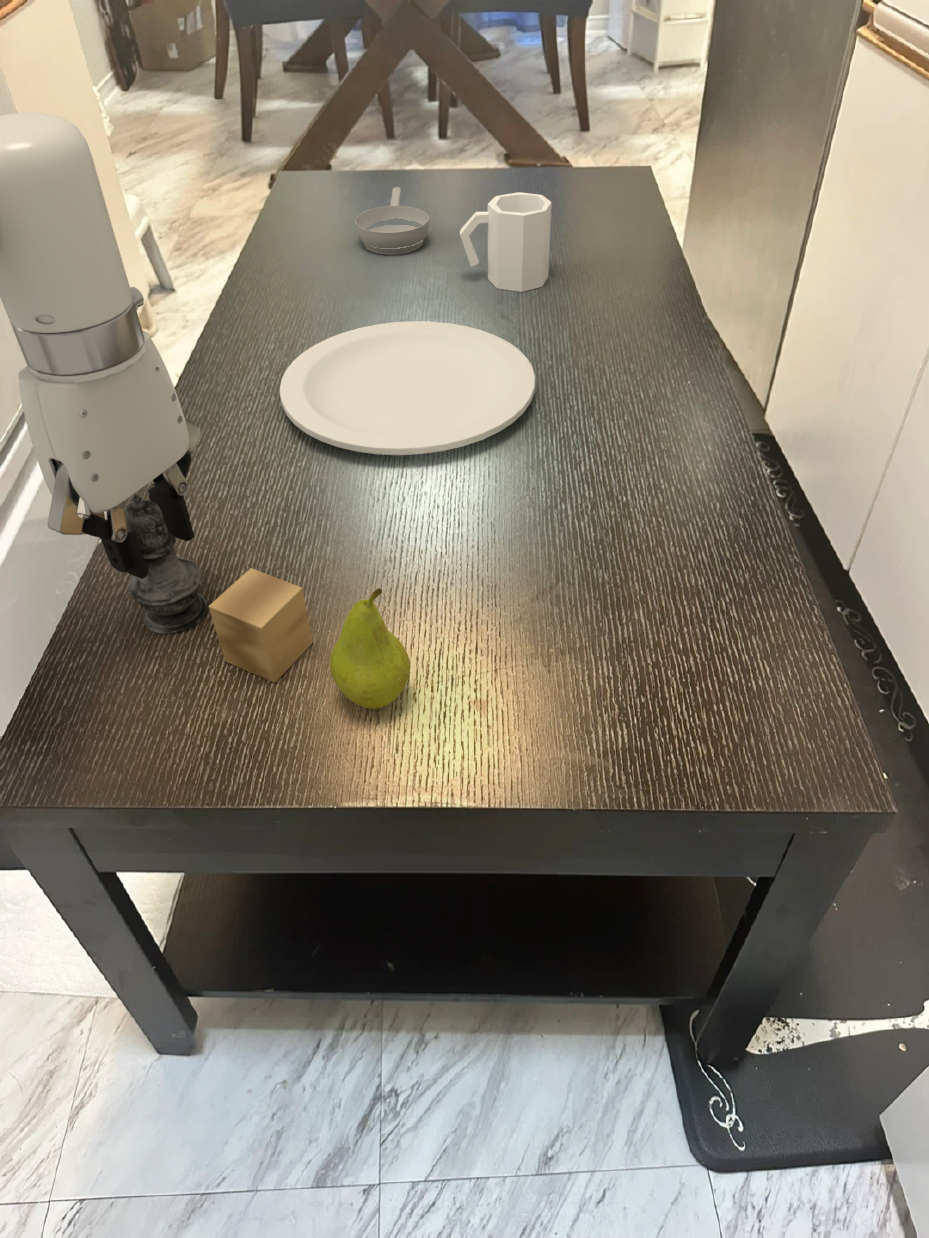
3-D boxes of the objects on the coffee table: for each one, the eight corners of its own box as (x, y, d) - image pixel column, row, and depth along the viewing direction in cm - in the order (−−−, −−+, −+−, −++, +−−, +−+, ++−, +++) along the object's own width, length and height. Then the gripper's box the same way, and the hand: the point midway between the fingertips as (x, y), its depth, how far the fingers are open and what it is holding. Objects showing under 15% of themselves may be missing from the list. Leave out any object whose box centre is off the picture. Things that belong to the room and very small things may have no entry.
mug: (545, 265, 124) (548, 191, 118) (551, 291, 118) (554, 215, 111) (460, 267, 124) (458, 194, 118) (461, 293, 118) (459, 217, 111)
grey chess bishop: (170, 647, 71) (127, 529, 63) (124, 617, 74) (78, 500, 66) (225, 606, 75) (192, 489, 66) (180, 579, 77) (142, 463, 69)
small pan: (354, 258, 128) (351, 231, 125) (364, 213, 141) (362, 187, 138) (429, 257, 127) (427, 229, 125) (432, 212, 140) (431, 186, 138)
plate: (417, 318, 113) (416, 300, 112) (586, 395, 99) (588, 376, 97) (233, 399, 99) (228, 380, 98) (397, 503, 85) (395, 482, 83)
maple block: (224, 661, 70) (208, 606, 66) (264, 622, 73) (250, 567, 69) (274, 683, 68) (260, 628, 64) (313, 642, 71) (302, 587, 67)
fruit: (343, 666, 69) (323, 547, 61) (417, 671, 69) (407, 551, 61) (328, 723, 65) (304, 604, 57) (406, 728, 65) (394, 609, 56)
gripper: (132, 275, 64) (191, 484, 76) (-70, 379, 53) (38, 602, 66) (212, 295, 61) (260, 509, 74) (16, 409, 51) (111, 635, 63)
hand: (154, 550), depth 70 cm, fingers open, 4 cm apart
